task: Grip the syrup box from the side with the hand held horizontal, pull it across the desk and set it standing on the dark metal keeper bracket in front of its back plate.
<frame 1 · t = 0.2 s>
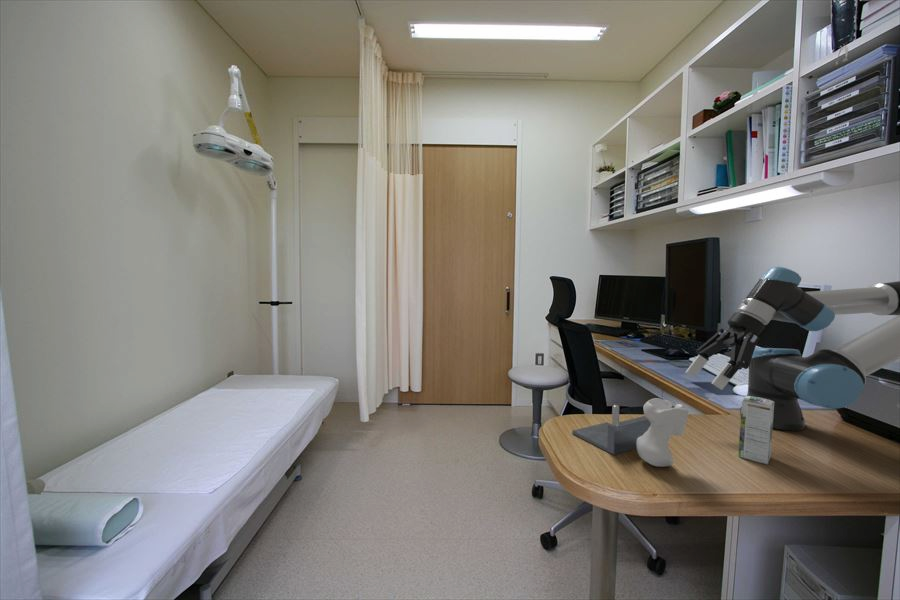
hand: (702, 380, 101), 16 cm above the table, tool tilted 35°, fingers open, 13 cm apart
white sculpture: (662, 465, 86), on the table
keeper bracket: (610, 438, 100), on the table
syrup box: (754, 458, 89), on the table
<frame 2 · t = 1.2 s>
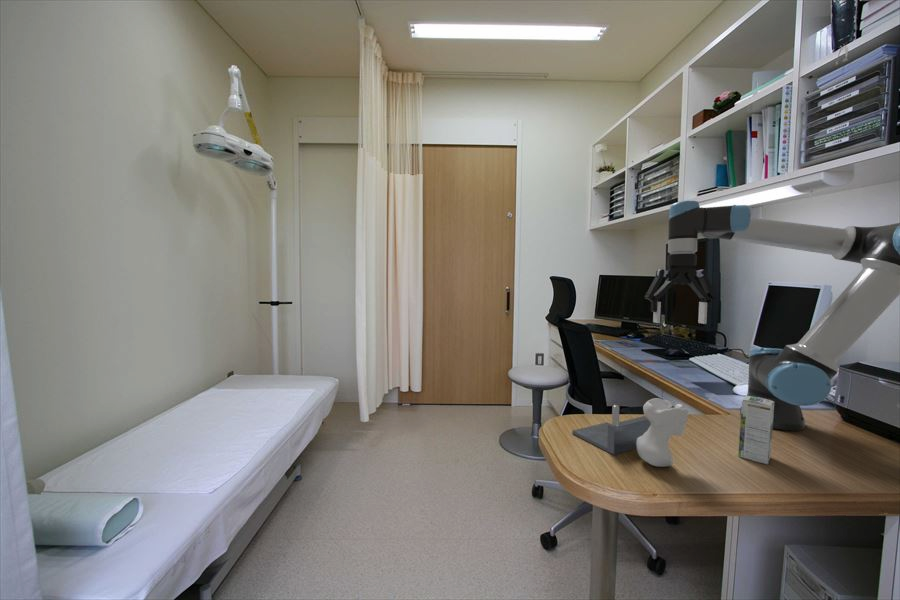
hand: (679, 323, 111), 31 cm above the table, tool pointing down, fingers open, 13 cm apart
nothing on the table moved.
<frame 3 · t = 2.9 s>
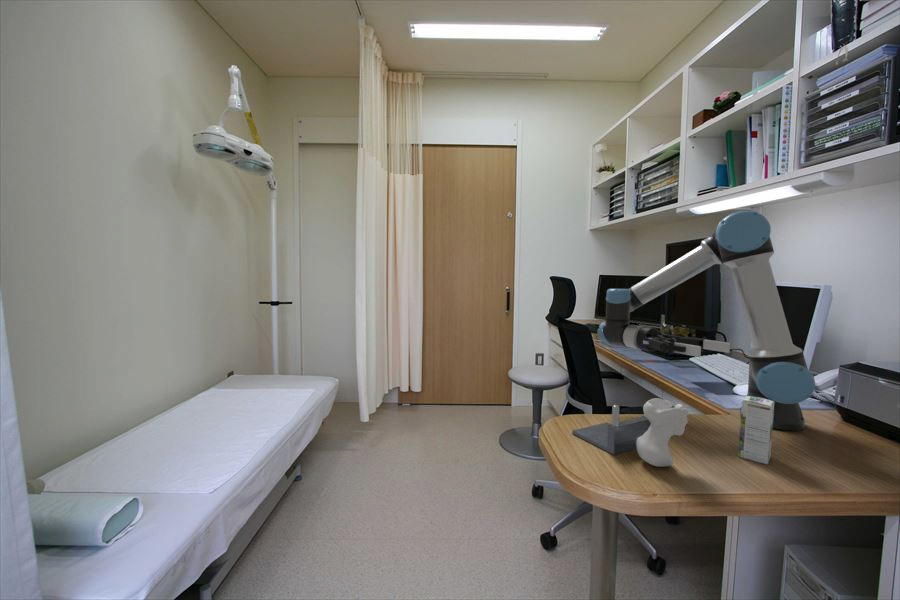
hand: (715, 349, 97), 25 cm above the table, tool horizontal, fingers open, 13 cm apart
nothing on the table moved.
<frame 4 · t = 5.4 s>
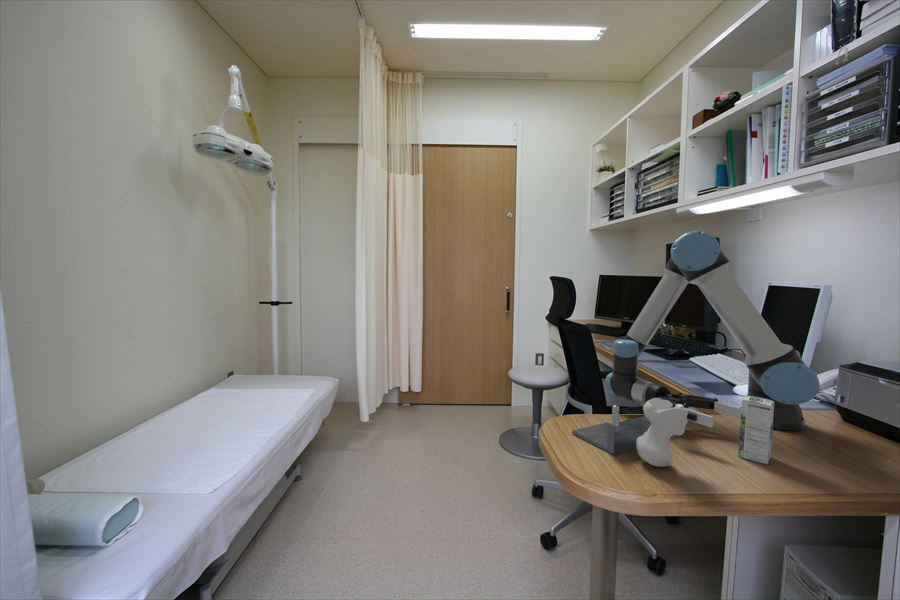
hand: (727, 417, 94), 8 cm above the table, tool horizontal, fingers open, 13 cm apart
nothing on the table moved.
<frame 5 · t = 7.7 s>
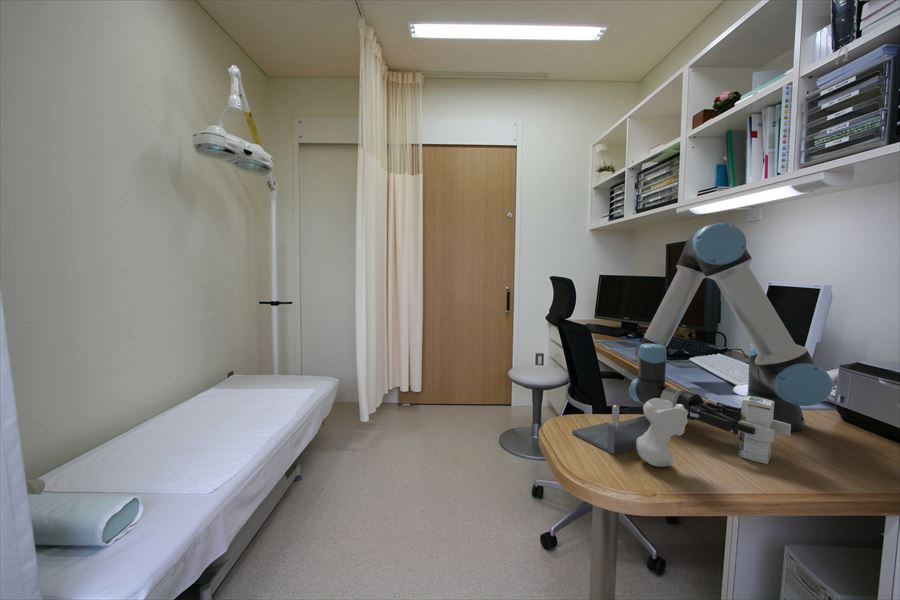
hand: (781, 433, 85), 8 cm above the table, tool horizontal, fingers closed on syrup box, 7 cm apart
syrup box: (754, 458, 89), on the table, touching gripper
everything else where it was.
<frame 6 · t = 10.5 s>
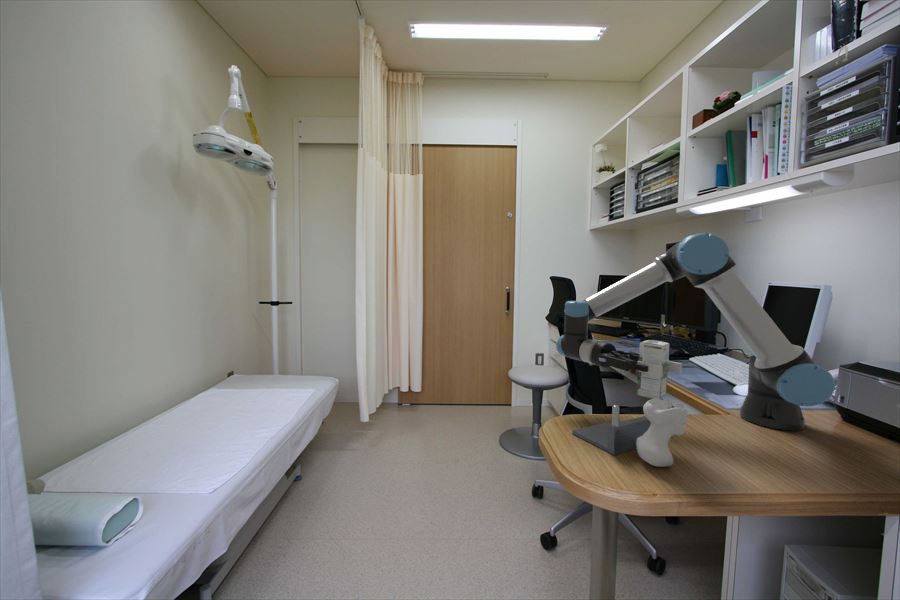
hand: (671, 370, 91), 21 cm above the table, tool horizontal, fingers closed on syrup box, 7 cm apart
syrup box: (651, 396, 96), point 13 cm above the table, touching gripper
everything else where it was.
when the fingers open (10 cm above the table, at t = 13.3 s): syrup box drops 1 cm, resting on keeper bracket.
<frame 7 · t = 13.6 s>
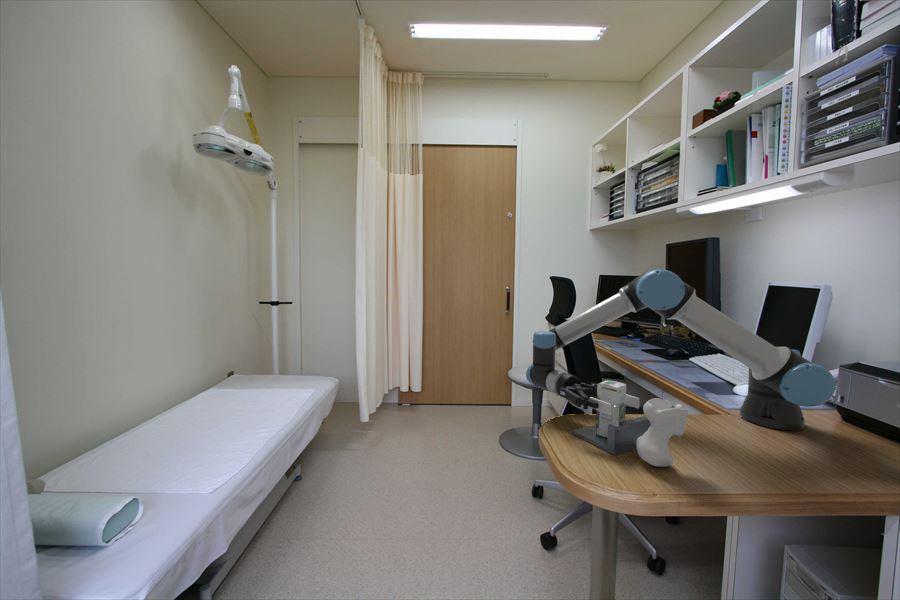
hand: (624, 406, 95), 10 cm above the table, tool horizontal, fingers open, 10 cm apart
syrup box: (610, 435, 100), point 1 cm above the table, touching keeper bracket
everything else where it was.
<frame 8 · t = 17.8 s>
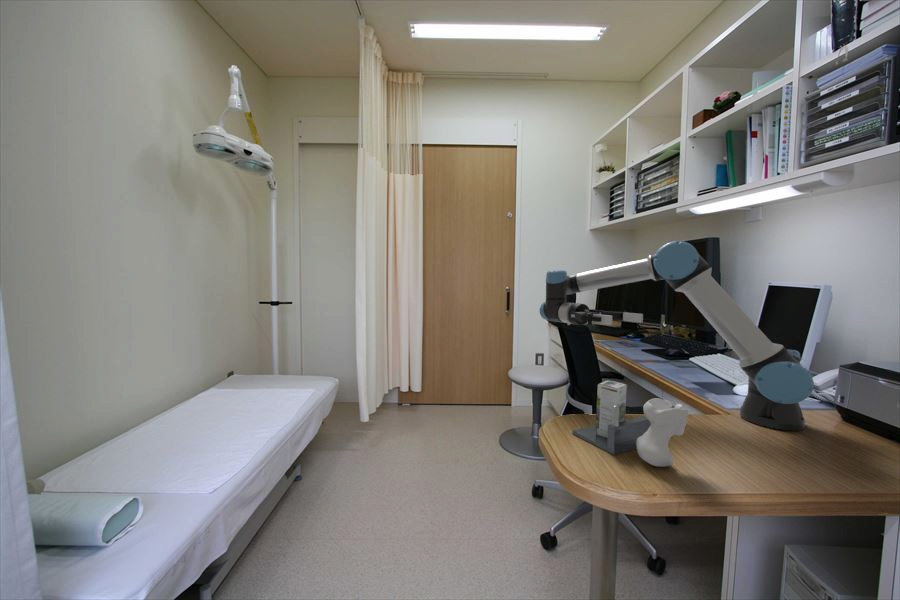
hand: (627, 319, 109), 32 cm above the table, tool horizontal, fingers open, 13 cm apart
nothing on the table moved.
at the end: syrup box inside the target area on the keeper bracket (0.1 cm from its centre), point 0.8 cm above the keeper bracket's base; syrup box tilted 0°; the gripper is holding nothing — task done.
